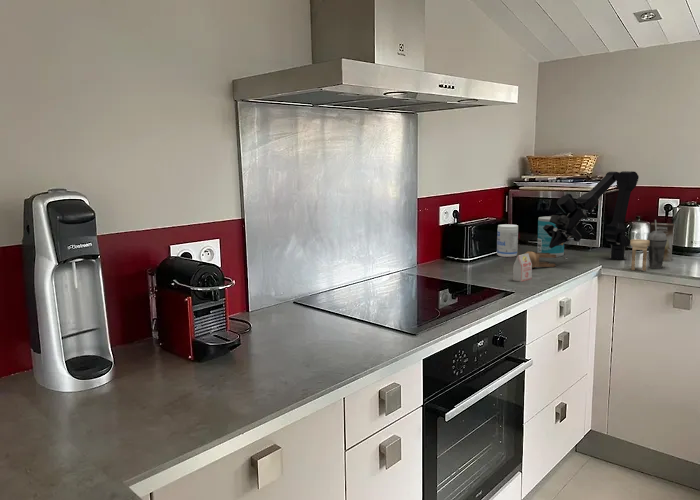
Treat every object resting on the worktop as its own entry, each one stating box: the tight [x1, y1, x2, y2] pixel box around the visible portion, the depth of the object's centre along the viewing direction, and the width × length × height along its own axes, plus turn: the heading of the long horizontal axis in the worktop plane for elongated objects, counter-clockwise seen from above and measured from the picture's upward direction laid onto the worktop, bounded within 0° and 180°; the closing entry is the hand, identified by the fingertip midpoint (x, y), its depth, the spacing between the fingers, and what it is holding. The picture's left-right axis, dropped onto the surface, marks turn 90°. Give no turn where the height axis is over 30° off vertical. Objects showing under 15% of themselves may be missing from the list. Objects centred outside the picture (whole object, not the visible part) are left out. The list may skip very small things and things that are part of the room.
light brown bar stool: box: [629, 238, 650, 272], centre depth 230 cm, size 7×7×12 cm
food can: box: [536, 215, 565, 258], centre depth 266 cm, size 12×12×18 cm
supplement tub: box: [496, 223, 519, 258], centre depth 269 cm, size 10×10×15 cm
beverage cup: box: [646, 219, 667, 270], centre depth 231 cm, size 7×7×20 cm
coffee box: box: [647, 222, 675, 262], centre depth 249 cm, size 9×6×16 cm
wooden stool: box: [524, 251, 557, 269], centre depth 240 cm, size 7×7×12 cm
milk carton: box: [512, 252, 533, 283], centre depth 217 cm, size 4×7×10 cm, turn 128°
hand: (550, 247), depth 241 cm, fingers closed
